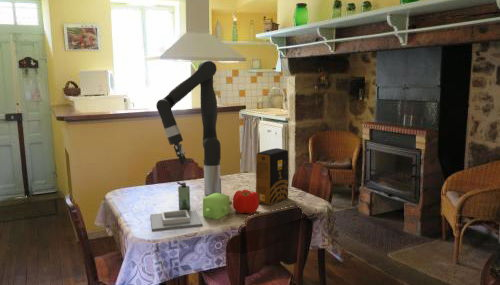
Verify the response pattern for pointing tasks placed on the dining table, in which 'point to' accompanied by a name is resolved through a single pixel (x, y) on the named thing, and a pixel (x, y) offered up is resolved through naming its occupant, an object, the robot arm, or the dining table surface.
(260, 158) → the black and gold box
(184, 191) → the spout can
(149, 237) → the dining table surface
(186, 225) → the pad
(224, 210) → the gearbox
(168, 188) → the dining table surface
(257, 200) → the tomato
